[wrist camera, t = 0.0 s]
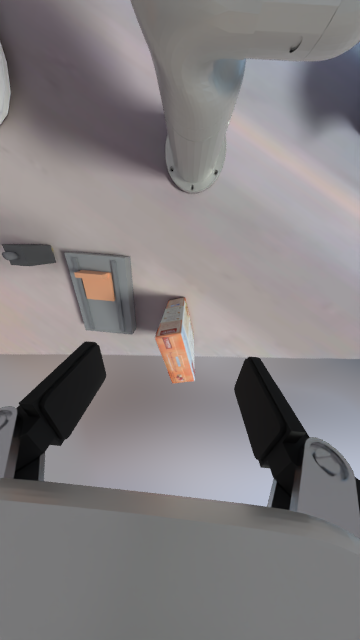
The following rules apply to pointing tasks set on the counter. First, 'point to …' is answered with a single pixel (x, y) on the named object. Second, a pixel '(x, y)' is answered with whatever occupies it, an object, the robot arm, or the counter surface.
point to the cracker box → (177, 341)
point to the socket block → (103, 312)
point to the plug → (28, 254)
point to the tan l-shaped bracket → (97, 284)
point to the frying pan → (4, 86)
